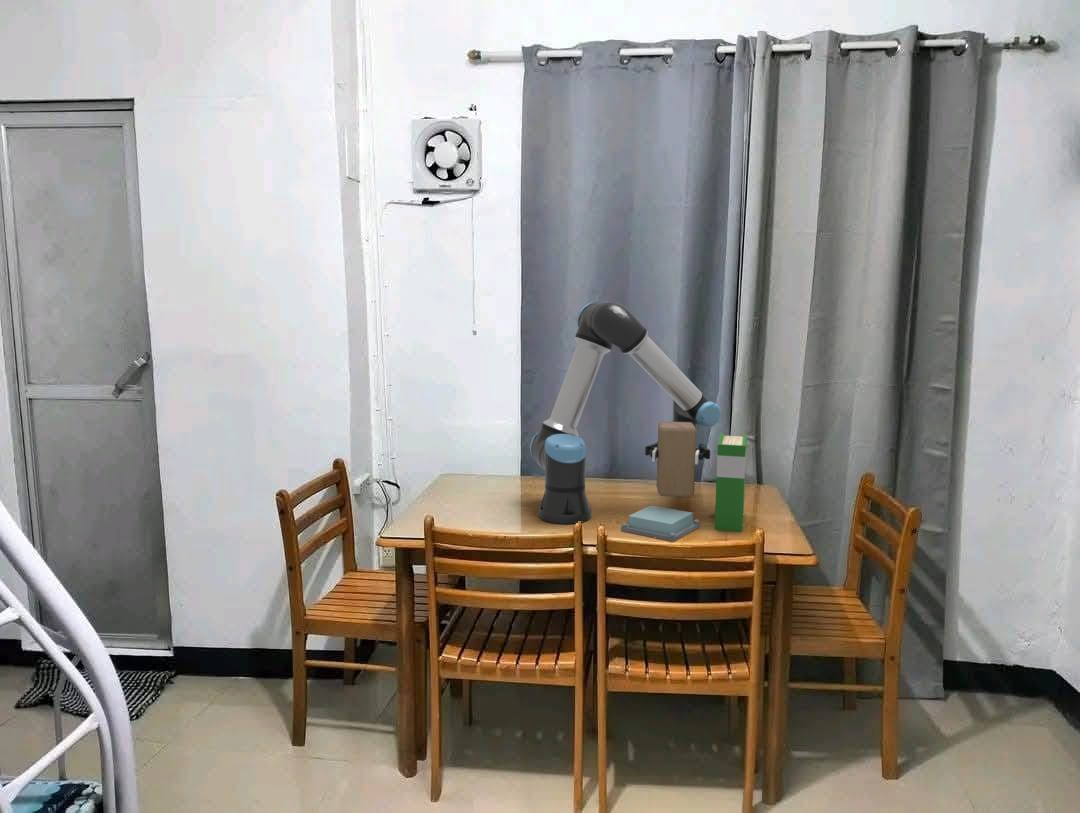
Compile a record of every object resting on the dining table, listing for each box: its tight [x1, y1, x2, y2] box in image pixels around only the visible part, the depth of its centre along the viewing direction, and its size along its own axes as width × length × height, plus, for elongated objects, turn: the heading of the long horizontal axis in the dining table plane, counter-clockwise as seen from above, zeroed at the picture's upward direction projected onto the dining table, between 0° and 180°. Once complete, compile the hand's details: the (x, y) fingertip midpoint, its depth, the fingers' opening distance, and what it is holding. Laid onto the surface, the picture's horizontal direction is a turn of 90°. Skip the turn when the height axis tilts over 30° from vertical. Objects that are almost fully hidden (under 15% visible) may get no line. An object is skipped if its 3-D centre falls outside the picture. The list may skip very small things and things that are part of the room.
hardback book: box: [714, 432, 748, 533], centre depth 226 cm, size 18×7×24 cm, turn 165°
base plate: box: [620, 504, 701, 542], centre depth 221 cm, size 16×16×4 cm
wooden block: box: [656, 421, 697, 498], centre depth 227 cm, size 10×10×20 cm
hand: (674, 458), depth 223 cm, fingers closed on wooden block, 11 cm apart
